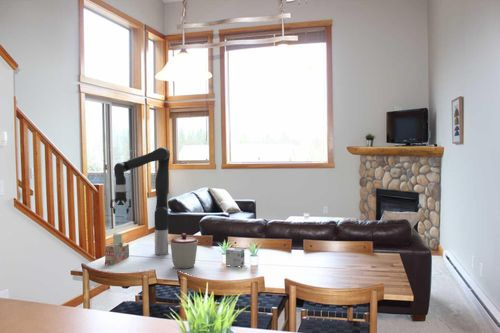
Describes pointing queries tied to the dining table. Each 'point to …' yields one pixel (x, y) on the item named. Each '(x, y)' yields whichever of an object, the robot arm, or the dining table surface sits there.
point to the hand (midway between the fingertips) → (120, 213)
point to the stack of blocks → (116, 253)
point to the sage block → (117, 238)
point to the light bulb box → (235, 257)
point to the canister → (183, 251)
